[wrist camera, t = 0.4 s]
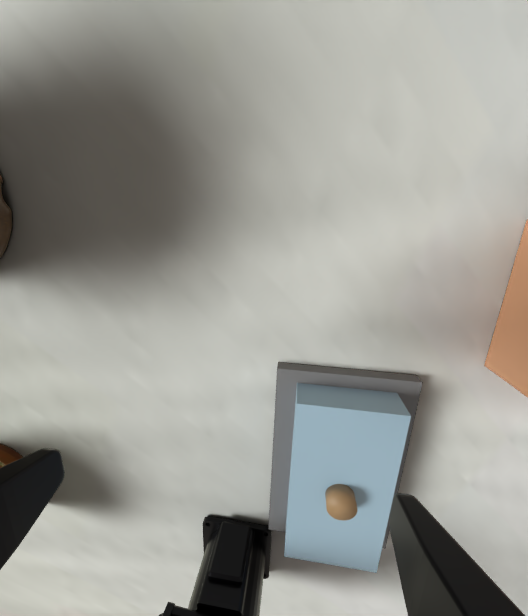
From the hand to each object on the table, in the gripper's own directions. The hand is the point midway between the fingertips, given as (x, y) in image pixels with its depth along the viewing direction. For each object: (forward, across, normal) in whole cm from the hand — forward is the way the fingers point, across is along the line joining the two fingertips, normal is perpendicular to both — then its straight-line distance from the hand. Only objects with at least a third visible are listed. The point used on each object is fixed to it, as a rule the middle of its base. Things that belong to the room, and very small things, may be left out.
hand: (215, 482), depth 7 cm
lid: (+13, -6, +11) cm, 18 cm away
